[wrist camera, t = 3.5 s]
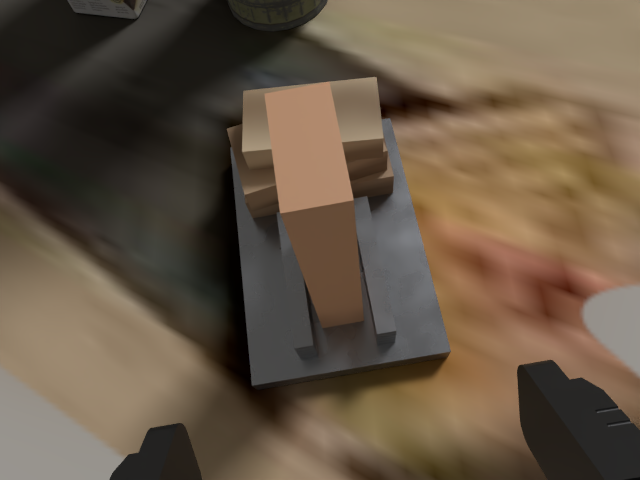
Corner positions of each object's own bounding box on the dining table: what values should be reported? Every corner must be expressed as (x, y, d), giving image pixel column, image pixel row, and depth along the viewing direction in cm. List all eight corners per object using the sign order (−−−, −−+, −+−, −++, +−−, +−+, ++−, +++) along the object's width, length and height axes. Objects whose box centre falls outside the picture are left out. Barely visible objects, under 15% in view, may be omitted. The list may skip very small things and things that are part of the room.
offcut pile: (395, 201, 32) (398, 148, 27) (248, 228, 32) (224, 179, 27) (376, 126, 35) (376, 63, 29) (241, 151, 35) (217, 93, 30)
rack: (447, 357, 29) (457, 340, 26) (257, 389, 30) (240, 377, 26) (389, 131, 36) (390, 93, 33) (235, 160, 36) (220, 125, 33)
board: (364, 321, 29) (353, 200, 17) (322, 328, 29) (280, 213, 17) (349, 241, 31) (329, 81, 19) (309, 249, 31) (264, 93, 19)
